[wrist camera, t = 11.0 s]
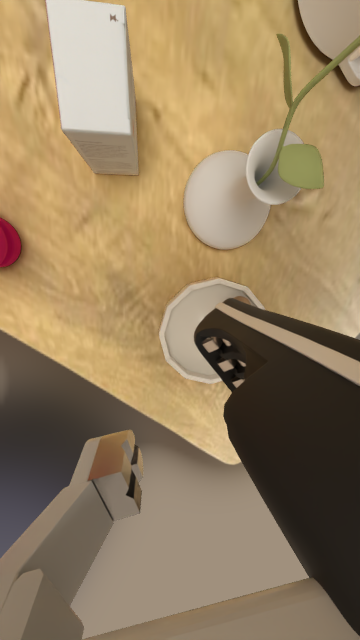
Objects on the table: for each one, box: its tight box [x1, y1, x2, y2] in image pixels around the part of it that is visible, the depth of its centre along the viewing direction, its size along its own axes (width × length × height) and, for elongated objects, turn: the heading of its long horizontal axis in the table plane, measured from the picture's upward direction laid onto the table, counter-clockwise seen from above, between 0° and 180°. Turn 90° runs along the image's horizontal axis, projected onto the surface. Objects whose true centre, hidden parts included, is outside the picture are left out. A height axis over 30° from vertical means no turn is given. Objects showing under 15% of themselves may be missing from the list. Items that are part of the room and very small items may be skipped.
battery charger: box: [194, 298, 360, 636], centre depth 7 cm, size 7×4×11 cm, turn 37°
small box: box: [45, 0, 139, 175], centre depth 22 cm, size 8×6×10 cm
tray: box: [159, 277, 265, 384], centre depth 34 cm, size 16×16×2 cm
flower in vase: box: [183, 34, 360, 250], centre depth 18 cm, size 13×11×25 cm
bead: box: [234, 296, 251, 305], centre depth 32 cm, size 3×3×3 cm
